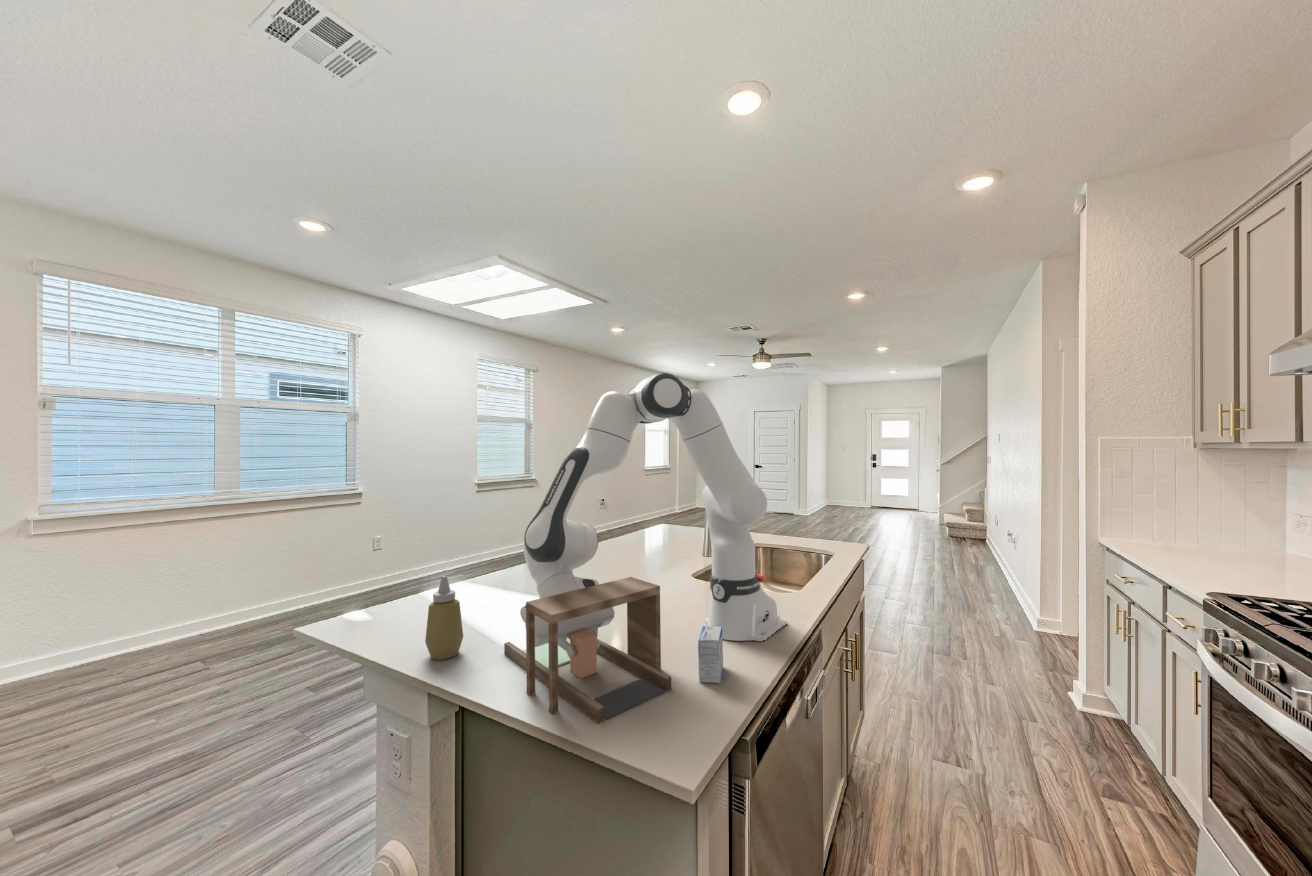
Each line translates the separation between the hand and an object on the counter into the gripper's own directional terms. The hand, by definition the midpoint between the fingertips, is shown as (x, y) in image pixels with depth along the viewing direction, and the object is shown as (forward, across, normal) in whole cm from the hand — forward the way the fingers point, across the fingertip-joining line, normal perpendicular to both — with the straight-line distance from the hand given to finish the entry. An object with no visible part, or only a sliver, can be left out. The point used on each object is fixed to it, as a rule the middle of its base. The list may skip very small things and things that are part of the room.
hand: (585, 652), depth 102 cm
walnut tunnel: (+3, 0, +4) cm, 4 cm away
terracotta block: (+3, 0, +4) cm, 4 cm away
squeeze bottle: (-18, -19, +24) cm, 35 cm away
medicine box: (+16, +19, -10) cm, 27 cm away
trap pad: (+13, 0, -7) cm, 15 cm away
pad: (-6, 0, +12) cm, 13 cm away
